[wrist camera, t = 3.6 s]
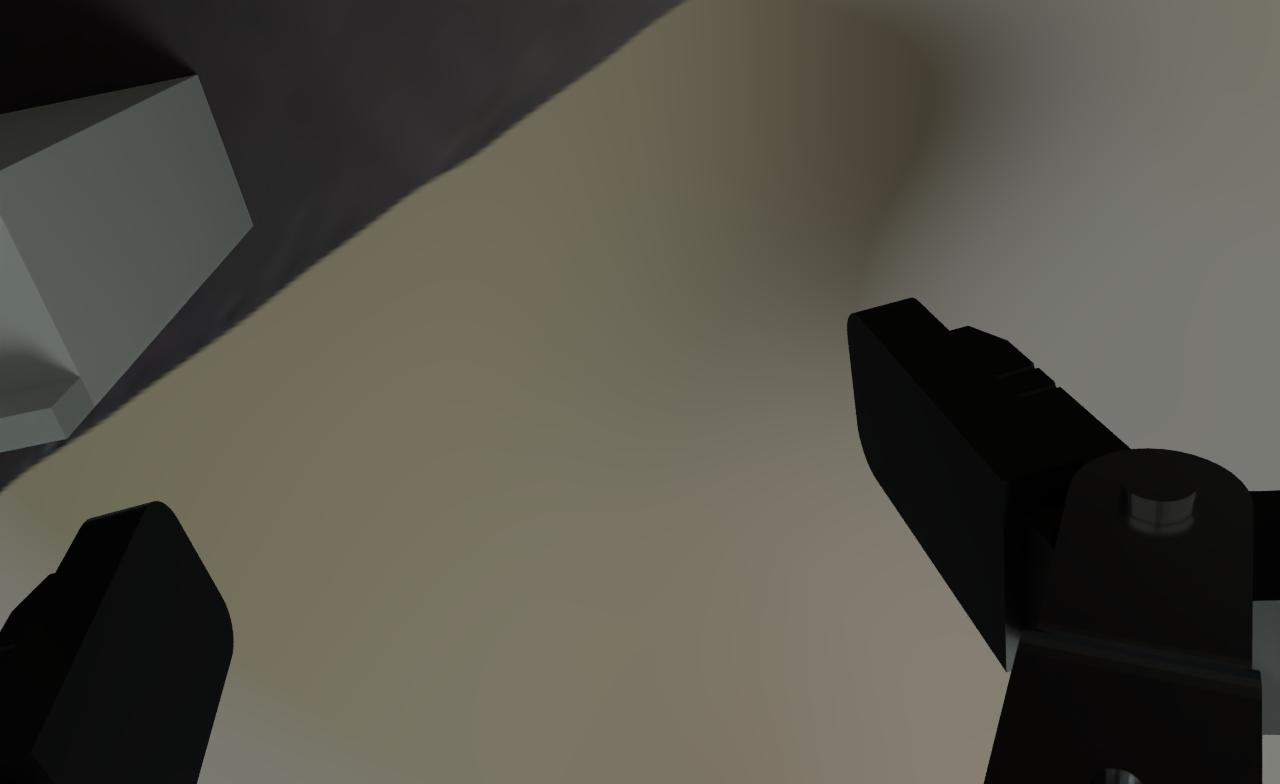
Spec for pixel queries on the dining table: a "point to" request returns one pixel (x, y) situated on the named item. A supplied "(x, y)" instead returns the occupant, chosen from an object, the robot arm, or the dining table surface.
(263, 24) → the dining table surface
